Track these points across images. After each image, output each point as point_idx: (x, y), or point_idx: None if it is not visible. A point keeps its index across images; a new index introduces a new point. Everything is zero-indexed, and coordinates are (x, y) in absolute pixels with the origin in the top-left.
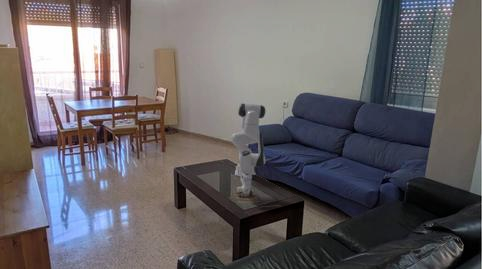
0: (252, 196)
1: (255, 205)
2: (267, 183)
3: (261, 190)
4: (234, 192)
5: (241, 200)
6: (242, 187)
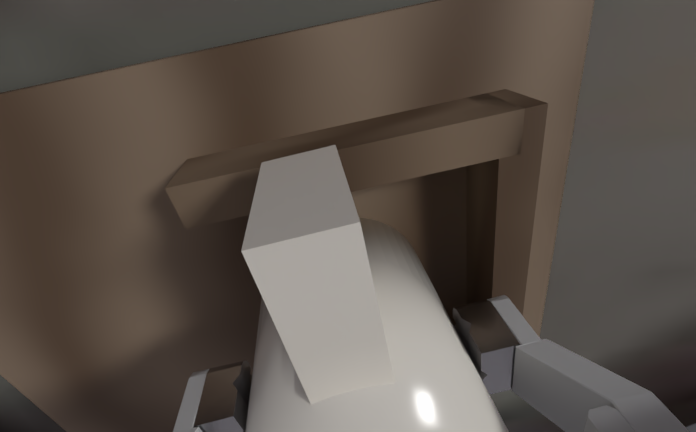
0: None
1: (6, 407)
2: (689, 422)
3: (526, 403)
4: (505, 25)
5: (15, 231)
6: (305, 425)
